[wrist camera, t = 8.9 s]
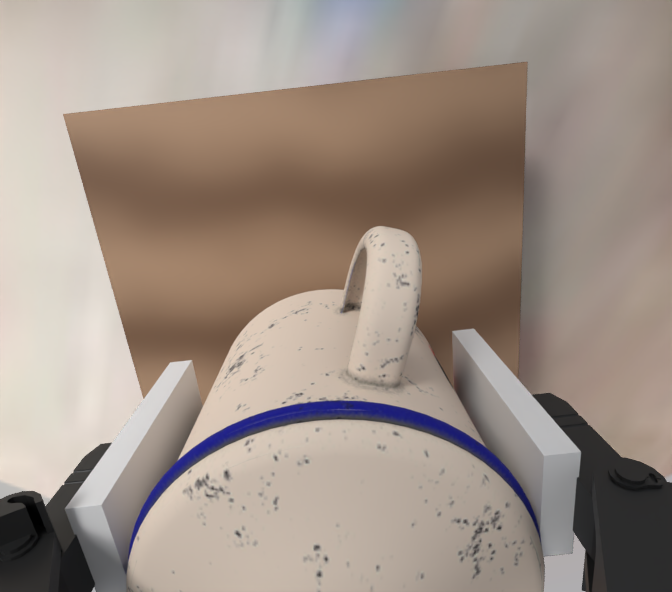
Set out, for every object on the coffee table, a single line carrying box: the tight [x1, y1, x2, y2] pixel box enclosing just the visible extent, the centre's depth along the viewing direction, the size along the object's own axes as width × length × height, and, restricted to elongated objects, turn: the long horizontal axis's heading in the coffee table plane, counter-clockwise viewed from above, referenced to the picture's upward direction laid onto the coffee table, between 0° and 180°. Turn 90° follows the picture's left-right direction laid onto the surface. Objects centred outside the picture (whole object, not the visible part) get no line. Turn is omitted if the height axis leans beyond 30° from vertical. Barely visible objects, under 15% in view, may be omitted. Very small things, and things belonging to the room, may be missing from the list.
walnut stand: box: [63, 62, 527, 406], centre depth 23 cm, size 20×18×6 cm
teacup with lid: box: [126, 226, 545, 592], centre depth 12 cm, size 12×9×12 cm
